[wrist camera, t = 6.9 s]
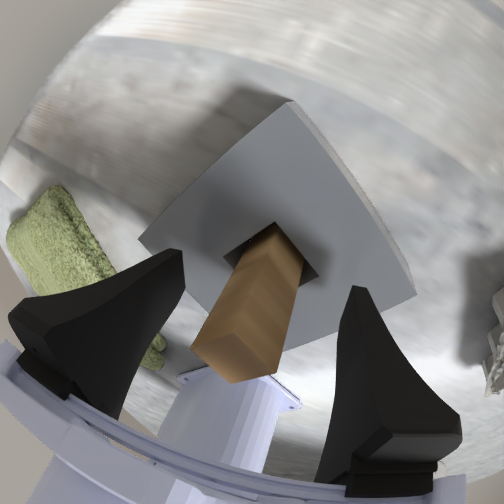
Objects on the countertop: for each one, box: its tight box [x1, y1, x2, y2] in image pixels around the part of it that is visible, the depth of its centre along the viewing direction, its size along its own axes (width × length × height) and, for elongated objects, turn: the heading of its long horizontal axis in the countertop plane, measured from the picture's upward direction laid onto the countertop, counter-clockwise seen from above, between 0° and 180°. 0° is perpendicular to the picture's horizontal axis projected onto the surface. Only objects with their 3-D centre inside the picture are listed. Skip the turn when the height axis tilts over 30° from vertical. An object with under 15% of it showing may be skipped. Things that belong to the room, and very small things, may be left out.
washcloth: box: [6, 186, 167, 371], centre depth 22 cm, size 13×18×3 cm
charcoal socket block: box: [138, 101, 417, 352], centre depth 14 cm, size 10×10×2 cm
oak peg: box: [190, 221, 305, 384], centre depth 12 cm, size 2×2×8 cm
